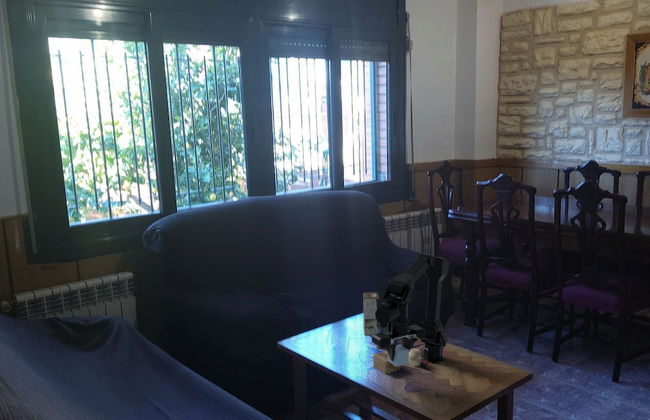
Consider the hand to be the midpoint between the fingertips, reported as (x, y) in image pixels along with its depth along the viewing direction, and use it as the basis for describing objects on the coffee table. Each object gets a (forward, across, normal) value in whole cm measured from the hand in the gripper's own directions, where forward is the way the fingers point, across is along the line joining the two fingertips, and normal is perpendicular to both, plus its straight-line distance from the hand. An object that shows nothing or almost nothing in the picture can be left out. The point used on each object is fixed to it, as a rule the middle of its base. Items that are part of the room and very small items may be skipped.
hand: (398, 359), depth 188 cm
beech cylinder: (+9, -14, -9) cm, 19 cm away
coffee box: (+9, -17, -43) cm, 47 cm away
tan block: (+9, -3, -11) cm, 15 cm away
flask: (+9, -14, -27) cm, 32 cm away
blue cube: (+1, 0, 0) cm, 1 cm away
